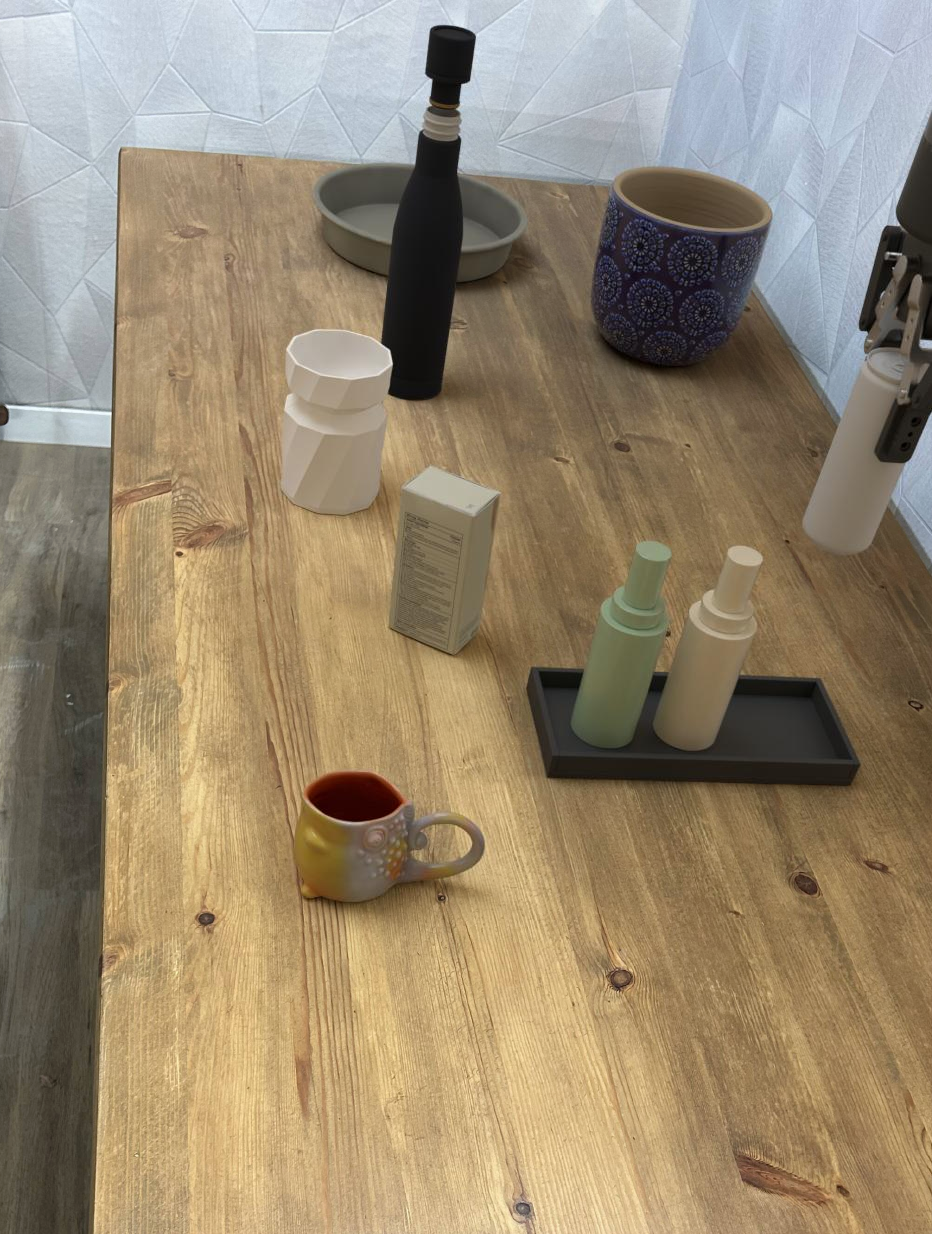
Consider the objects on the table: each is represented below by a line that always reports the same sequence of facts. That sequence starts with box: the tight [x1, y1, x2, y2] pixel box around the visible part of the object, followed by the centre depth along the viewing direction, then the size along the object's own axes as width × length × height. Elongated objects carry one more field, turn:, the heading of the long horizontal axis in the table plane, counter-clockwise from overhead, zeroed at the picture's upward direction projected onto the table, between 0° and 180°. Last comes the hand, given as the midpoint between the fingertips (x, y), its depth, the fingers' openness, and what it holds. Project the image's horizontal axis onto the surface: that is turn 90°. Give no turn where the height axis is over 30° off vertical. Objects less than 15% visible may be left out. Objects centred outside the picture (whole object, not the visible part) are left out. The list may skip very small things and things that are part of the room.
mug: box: [293, 769, 486, 903], centre depth 85 cm, size 12×7×7 cm, turn 84°
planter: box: [590, 165, 774, 367], centre depth 140 cm, size 16×16×15 cm
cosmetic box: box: [387, 465, 501, 656], centre depth 101 cm, size 6×4×12 cm
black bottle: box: [380, 24, 477, 401], centre depth 121 cm, size 6×6×30 cm
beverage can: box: [801, 347, 930, 556], centre depth 86 cm, size 5×5×12 cm
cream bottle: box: [653, 545, 764, 751], centre depth 95 cm, size 5×5×15 cm
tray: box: [525, 666, 862, 786], centre depth 100 cm, size 23×10×2 cm, turn 95°
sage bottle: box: [571, 540, 673, 749], centre depth 94 cm, size 5×5×15 cm
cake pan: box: [311, 162, 529, 284], centre depth 154 cm, size 25×25×4 cm
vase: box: [279, 328, 393, 516], centre depth 113 cm, size 9×9×12 cm
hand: (876, 435), depth 85 cm, fingers closed on beverage can, 5 cm apart
